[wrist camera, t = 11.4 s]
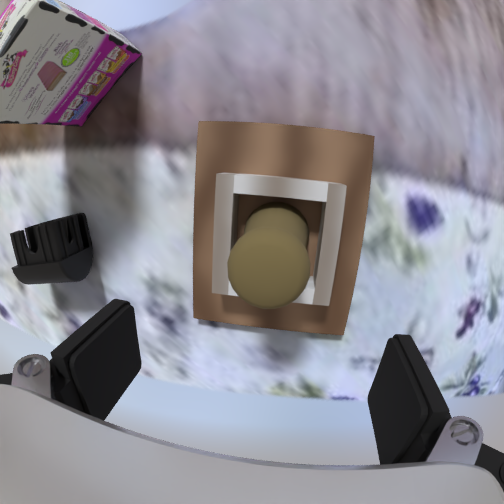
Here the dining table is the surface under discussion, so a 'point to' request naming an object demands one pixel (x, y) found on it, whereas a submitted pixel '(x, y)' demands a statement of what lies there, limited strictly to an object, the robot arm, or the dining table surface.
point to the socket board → (288, 191)
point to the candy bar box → (56, 63)
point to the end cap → (53, 251)
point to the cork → (271, 257)
